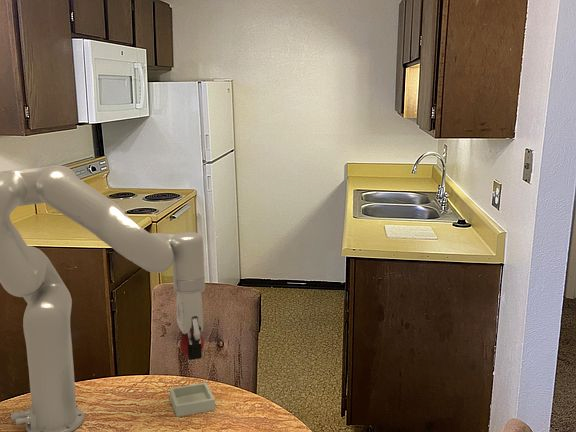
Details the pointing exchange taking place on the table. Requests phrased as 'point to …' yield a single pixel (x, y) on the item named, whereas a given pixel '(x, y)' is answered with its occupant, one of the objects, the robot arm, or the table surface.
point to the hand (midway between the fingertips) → (192, 352)
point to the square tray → (192, 399)
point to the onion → (185, 342)
